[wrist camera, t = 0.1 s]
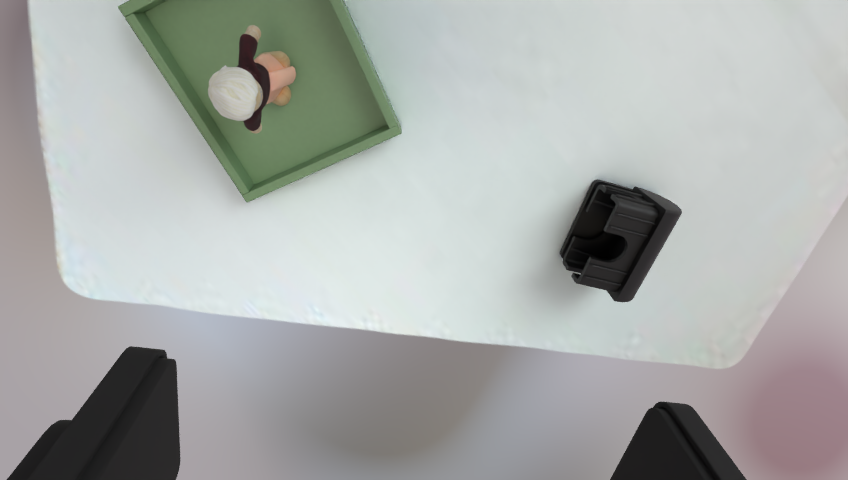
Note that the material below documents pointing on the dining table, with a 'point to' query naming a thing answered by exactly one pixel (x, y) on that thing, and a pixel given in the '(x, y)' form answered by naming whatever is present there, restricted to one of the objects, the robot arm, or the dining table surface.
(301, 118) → the tray
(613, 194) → the end cap
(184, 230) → the dining table surface
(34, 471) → the robot arm
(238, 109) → the grandmother figurine
